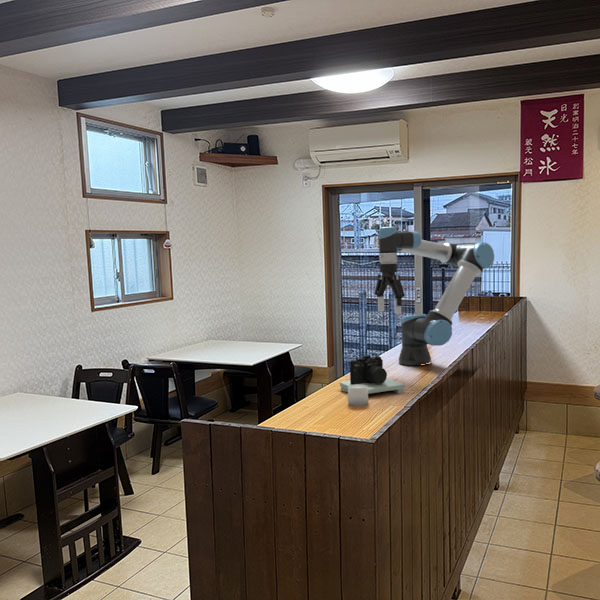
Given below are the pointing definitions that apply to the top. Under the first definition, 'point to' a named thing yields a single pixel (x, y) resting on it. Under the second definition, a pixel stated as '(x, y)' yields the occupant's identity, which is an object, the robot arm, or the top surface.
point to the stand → (378, 386)
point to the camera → (367, 370)
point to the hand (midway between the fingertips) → (389, 312)
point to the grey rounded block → (358, 395)
